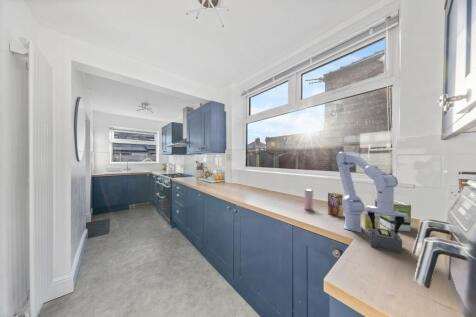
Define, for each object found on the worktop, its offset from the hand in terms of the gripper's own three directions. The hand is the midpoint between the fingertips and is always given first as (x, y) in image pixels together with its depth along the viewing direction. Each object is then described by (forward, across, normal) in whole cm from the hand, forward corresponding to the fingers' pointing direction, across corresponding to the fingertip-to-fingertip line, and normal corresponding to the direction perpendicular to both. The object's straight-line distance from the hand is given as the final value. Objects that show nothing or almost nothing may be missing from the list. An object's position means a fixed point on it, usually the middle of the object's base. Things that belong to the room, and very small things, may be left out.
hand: (384, 230), depth 76 cm
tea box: (+7, +7, +32) cm, 34 cm away
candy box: (+7, -22, +34) cm, 41 cm away
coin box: (+7, 0, 0) cm, 7 cm away
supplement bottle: (+7, -3, +18) cm, 20 cm away
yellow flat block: (+7, 0, 0) cm, 7 cm away
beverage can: (+7, -40, +36) cm, 54 cm away
